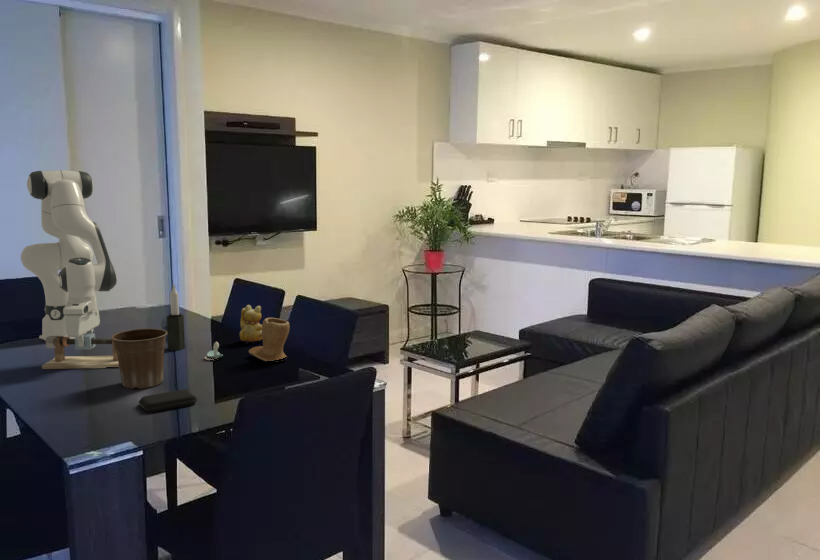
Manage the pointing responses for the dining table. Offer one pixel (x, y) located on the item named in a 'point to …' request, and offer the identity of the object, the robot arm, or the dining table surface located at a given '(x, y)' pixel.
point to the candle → (175, 324)
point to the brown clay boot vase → (272, 340)
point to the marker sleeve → (86, 342)
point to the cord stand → (78, 361)
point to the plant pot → (140, 357)
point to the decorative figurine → (251, 324)
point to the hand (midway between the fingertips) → (85, 344)
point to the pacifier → (213, 352)
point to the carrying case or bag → (167, 400)
